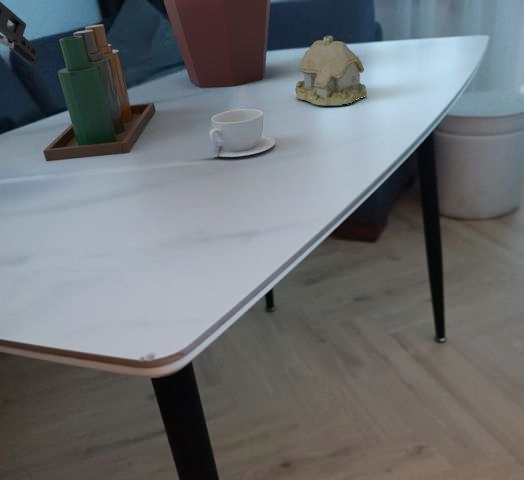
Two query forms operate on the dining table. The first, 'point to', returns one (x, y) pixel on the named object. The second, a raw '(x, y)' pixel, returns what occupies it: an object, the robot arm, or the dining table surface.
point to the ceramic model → (330, 74)
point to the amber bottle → (114, 69)
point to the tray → (69, 148)
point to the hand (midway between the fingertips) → (12, 59)
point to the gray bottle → (104, 77)
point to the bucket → (221, 39)
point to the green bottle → (85, 95)
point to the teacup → (239, 133)
